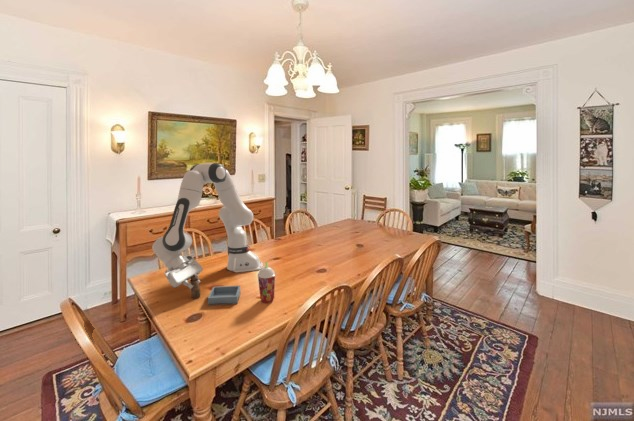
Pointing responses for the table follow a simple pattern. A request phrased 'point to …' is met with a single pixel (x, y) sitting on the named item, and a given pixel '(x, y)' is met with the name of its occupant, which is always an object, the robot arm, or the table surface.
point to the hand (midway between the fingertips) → (195, 285)
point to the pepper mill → (195, 287)
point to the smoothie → (266, 284)
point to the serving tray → (224, 295)
